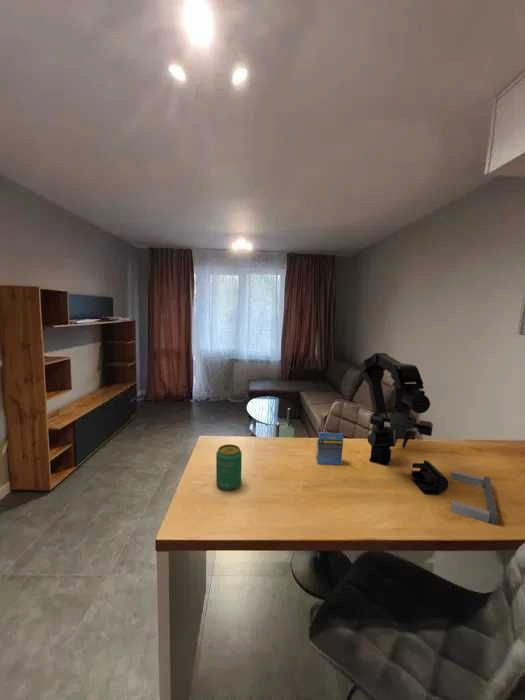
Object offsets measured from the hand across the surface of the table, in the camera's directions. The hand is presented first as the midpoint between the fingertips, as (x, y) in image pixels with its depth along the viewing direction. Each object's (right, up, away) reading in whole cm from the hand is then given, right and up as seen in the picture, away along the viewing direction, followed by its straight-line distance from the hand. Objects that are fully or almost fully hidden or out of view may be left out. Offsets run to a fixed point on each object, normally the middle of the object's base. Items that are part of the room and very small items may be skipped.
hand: (398, 447), depth 110 cm
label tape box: (-21, -9, +11) cm, 26 cm away
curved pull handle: (+18, -13, -8) cm, 24 cm away
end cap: (+8, -12, -3) cm, 15 cm away
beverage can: (-57, -11, -4) cm, 58 cm away
